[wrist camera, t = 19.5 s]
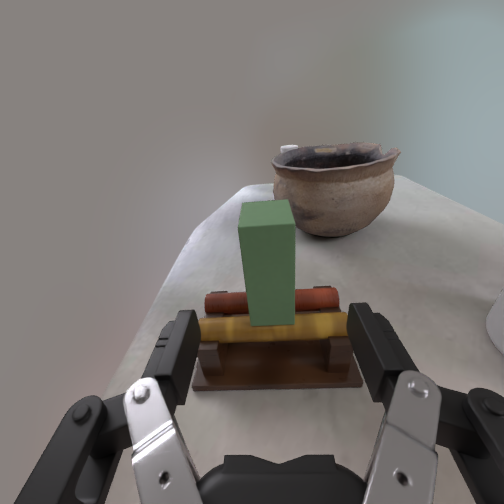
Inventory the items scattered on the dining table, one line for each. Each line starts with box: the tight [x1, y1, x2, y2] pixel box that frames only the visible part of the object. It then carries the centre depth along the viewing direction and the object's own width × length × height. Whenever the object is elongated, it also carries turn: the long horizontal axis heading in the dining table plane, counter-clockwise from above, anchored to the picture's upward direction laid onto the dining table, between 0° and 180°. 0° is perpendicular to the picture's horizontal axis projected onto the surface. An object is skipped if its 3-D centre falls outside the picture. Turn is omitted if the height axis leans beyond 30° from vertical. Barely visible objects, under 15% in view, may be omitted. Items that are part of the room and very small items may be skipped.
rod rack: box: [192, 286, 363, 391], centre depth 25 cm, size 16×10×6 cm, turn 88°
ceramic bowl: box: [271, 143, 401, 236], centre depth 47 cm, size 22×22×15 cm
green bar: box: [238, 199, 295, 326], centre depth 21 cm, size 4×5×10 cm
